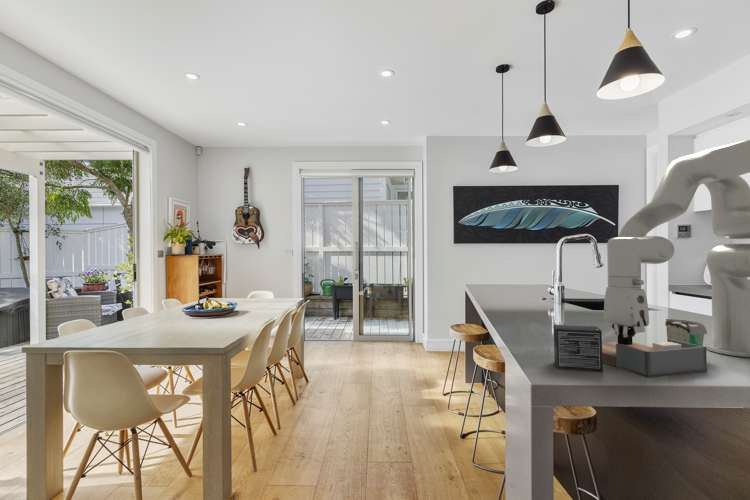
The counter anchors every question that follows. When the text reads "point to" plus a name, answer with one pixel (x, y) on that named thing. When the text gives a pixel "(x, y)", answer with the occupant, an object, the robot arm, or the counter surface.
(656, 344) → the cream tile
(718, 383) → the counter surface
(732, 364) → the counter surface
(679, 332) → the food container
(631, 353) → the tray
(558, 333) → the small box
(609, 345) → the walnut board
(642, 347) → the terracotta tile
